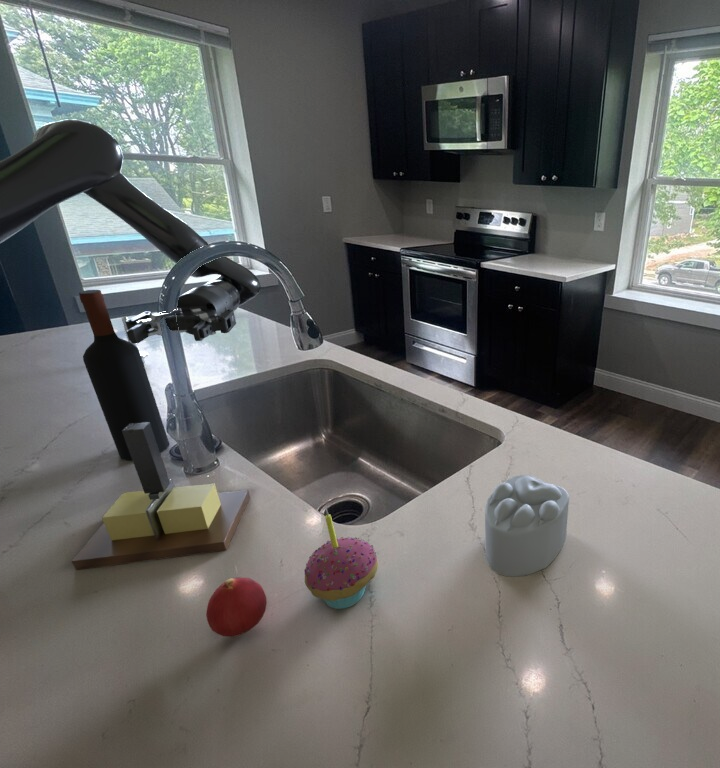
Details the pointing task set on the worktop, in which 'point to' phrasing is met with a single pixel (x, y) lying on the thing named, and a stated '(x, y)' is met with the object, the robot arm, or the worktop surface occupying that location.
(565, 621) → the worktop surface
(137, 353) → the wine bottle
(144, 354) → the screw
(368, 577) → the cupcake
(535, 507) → the lumpy-topped squat cylinder
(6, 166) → the robot arm
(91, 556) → the butter board
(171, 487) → the knife
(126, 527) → the butter
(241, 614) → the onion
